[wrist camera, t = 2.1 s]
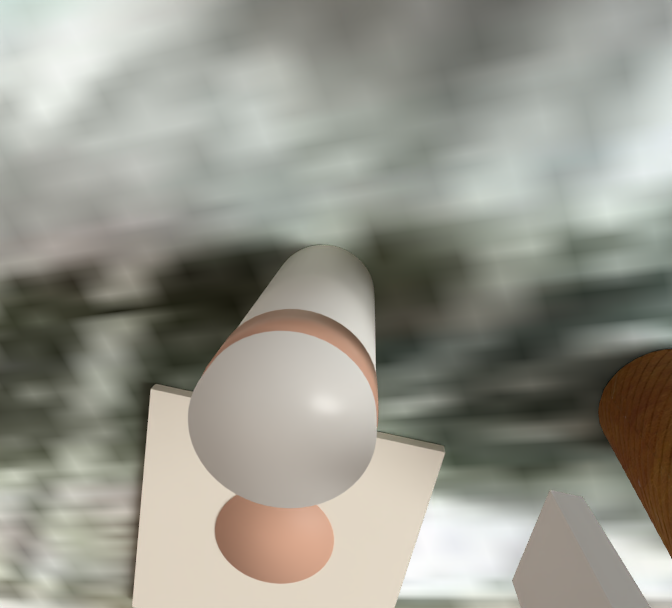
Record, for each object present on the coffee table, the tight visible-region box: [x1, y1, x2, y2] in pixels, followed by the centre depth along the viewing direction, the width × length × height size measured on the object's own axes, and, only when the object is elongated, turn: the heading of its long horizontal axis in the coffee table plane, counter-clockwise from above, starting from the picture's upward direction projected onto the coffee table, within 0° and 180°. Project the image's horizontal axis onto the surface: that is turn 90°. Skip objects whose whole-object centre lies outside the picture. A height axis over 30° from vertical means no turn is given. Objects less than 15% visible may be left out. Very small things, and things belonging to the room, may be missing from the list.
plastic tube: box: [188, 245, 378, 508], centre depth 18 cm, size 5×5×12 cm
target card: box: [132, 384, 445, 608], centre depth 29 cm, size 16×16×1 cm
